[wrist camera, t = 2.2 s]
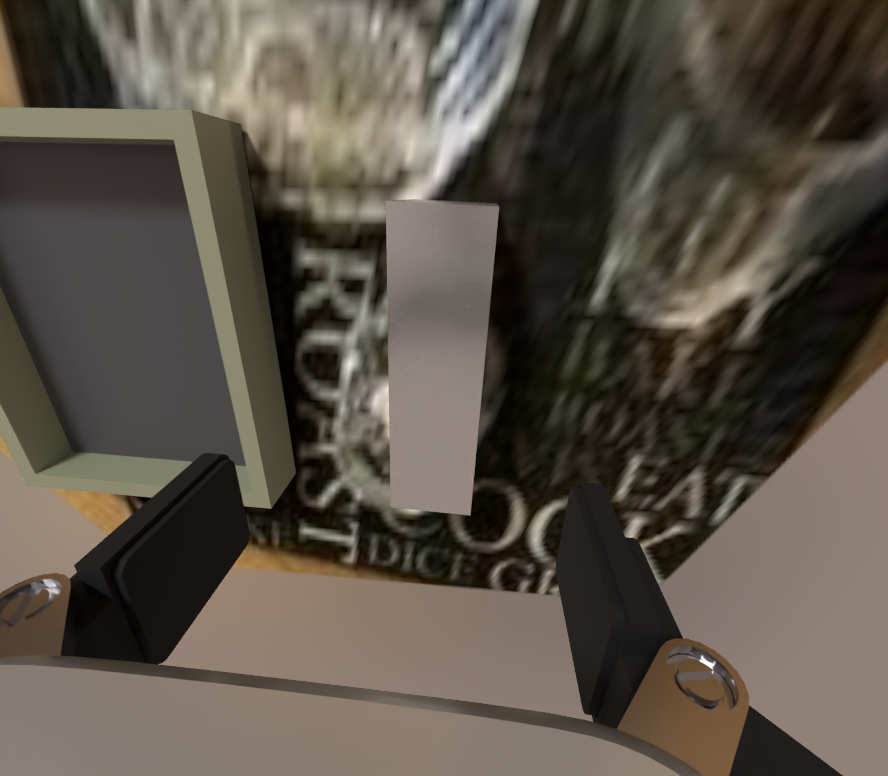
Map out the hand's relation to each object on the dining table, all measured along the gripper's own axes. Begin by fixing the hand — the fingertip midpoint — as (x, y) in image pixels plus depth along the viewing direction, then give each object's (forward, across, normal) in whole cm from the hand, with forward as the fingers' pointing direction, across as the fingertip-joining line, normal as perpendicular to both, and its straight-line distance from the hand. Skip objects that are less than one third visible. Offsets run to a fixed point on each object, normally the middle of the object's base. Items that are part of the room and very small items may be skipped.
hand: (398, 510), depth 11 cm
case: (+13, +18, -1) cm, 22 cm away
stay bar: (+13, 0, -1) cm, 13 cm away
